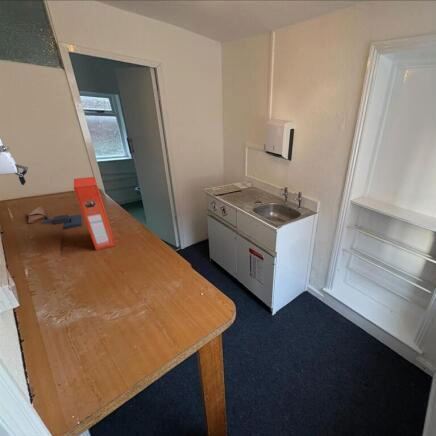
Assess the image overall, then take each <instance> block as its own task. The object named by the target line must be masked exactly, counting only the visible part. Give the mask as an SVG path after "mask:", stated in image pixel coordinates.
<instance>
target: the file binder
mask: <svg viewBox="0 0 436 436" xmlns="http://www.w3.org/2000/svg"><path fill="white" fill-rule="evenodd" d="M73 190H74V193H75V195H76V198H77V202H78V205H79V207H80V210H81V212H82V215H83V218H84V221H85V223H86V226H87V229H88V232H89V234H90V235H89V236H90V237H91V240H92V243H93V246H94V248H95V251H99V250H101V251H102V250H105V249H108V248H113V247H115V246H116V243H115V239H114V234H113V231H112V228H111V224H110V222H109V221H110V220H109V217H108V215H107V212H106V209H105V206H104V202H103V200H102V196H101V193H100V190H99V186H98V184H97V180H96V177H95V176H86V177H76V178H73Z"/></svg>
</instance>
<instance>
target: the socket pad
mask: <svg viewBox="0 0 436 436" xmlns="http://www.w3.org/2000/svg"><path fill="white" fill-rule="evenodd" d="M68 216H69V219H70V223H62V224H63V225H62V230H68V229H72V228H78V227H82V222H83V221H82V220H83V219H82V214H80V213H79V214H72V215H68ZM53 219H54V218H48V219H47V220H45V221H43V225H49V224H54V221H53Z"/></svg>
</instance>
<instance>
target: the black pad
mask: <svg viewBox="0 0 436 436" xmlns="http://www.w3.org/2000/svg"><path fill="white" fill-rule="evenodd" d="M69 216H70V215H69V214H61V215H55V216H53V218H52V219H53V221H54V223H53V224H54V226H55V225H61V224H64V223H70V219H69Z"/></svg>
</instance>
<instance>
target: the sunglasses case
mask: <svg viewBox="0 0 436 436" xmlns="http://www.w3.org/2000/svg"><path fill="white" fill-rule="evenodd" d="M26 216H27V218H28V219H27V223H28V224H37V223H42V222H43V223H44V221H45V220H47V219H49V217H48V215H47V211H46V210H45V208H44V207H42V206H39V207H37V208H36V209H34V210H32V211H31V212H29V213H27V215H26Z"/></svg>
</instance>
